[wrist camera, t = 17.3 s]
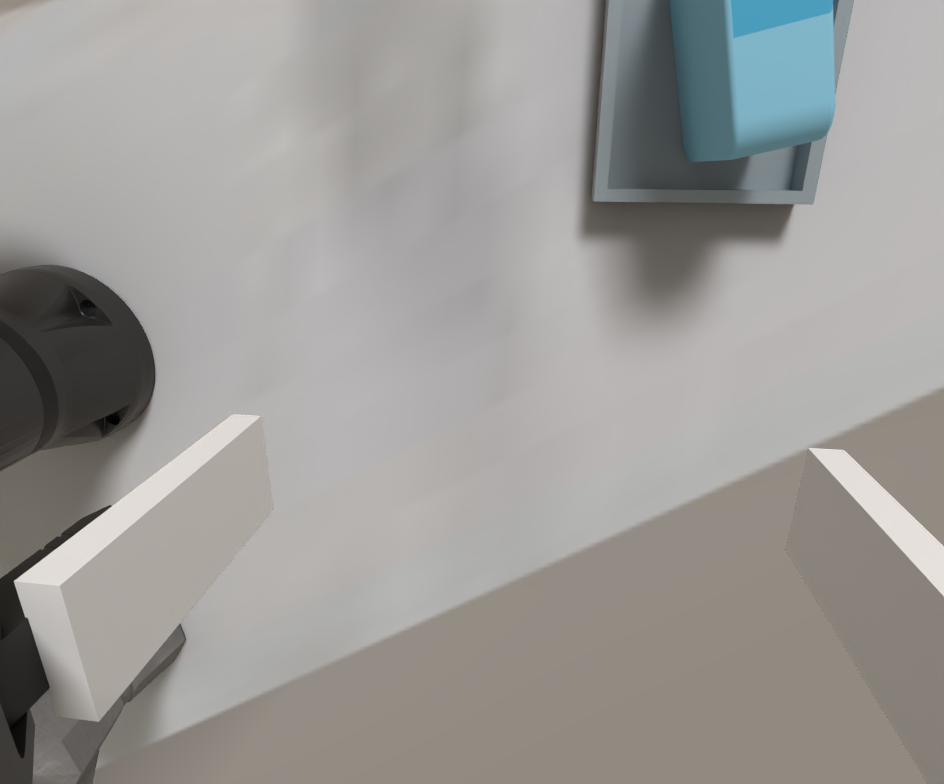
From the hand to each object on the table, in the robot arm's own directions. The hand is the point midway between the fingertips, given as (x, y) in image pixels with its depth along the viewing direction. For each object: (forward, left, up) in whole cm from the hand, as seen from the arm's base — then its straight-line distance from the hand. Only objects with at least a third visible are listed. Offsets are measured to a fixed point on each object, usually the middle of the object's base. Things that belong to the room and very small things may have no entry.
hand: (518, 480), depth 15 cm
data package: (+10, +14, -31) cm, 36 cm away
